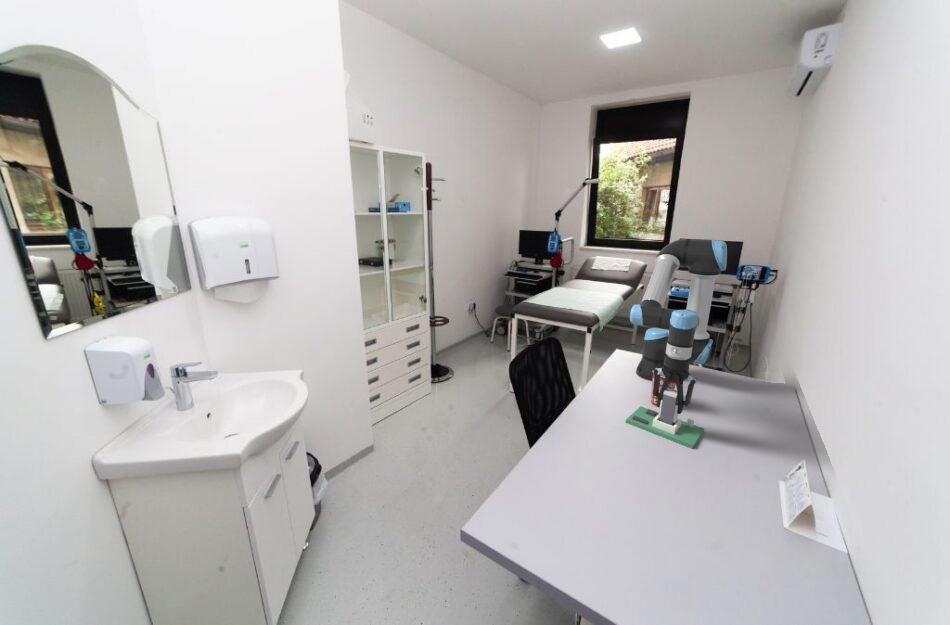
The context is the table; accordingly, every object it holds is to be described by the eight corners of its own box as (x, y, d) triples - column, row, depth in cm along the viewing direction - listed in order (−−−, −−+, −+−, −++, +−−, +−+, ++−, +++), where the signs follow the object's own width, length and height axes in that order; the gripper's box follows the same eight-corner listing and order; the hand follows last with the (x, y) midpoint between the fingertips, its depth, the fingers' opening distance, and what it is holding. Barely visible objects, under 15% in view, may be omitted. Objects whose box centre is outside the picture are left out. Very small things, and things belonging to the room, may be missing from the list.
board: (640, 408, 143) (641, 400, 142) (703, 431, 129) (705, 422, 128) (625, 422, 134) (626, 413, 133) (692, 448, 119) (694, 438, 118)
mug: (670, 411, 142) (676, 379, 138) (645, 404, 147) (650, 373, 143) (676, 399, 151) (681, 369, 148) (653, 393, 157) (657, 364, 153)
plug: (662, 418, 132) (667, 387, 129) (674, 422, 129) (680, 391, 126) (659, 422, 129) (663, 391, 126) (671, 426, 126) (676, 395, 123)
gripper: (647, 352, 126) (639, 413, 132) (703, 366, 114) (691, 432, 120) (655, 347, 131) (646, 405, 137) (709, 360, 120) (697, 423, 126)
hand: (667, 418), depth 129 cm, fingers closed on plug, 4 cm apart
